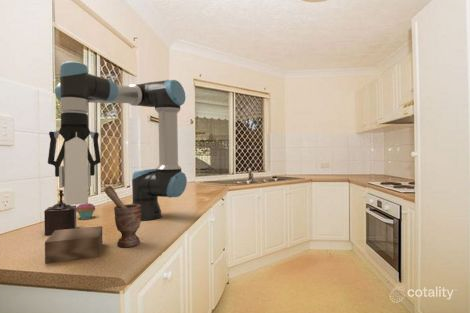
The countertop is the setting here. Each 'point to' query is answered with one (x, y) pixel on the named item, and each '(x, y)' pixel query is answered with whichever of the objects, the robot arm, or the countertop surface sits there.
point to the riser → (73, 244)
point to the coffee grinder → (60, 217)
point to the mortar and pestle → (125, 219)
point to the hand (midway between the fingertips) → (75, 186)
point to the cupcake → (85, 210)
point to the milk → (75, 171)
